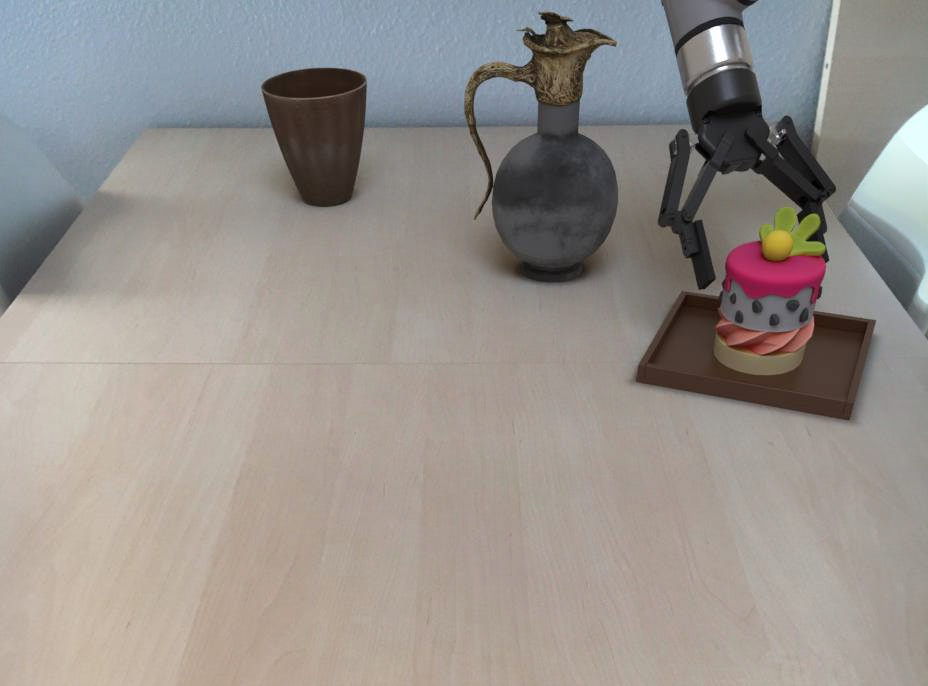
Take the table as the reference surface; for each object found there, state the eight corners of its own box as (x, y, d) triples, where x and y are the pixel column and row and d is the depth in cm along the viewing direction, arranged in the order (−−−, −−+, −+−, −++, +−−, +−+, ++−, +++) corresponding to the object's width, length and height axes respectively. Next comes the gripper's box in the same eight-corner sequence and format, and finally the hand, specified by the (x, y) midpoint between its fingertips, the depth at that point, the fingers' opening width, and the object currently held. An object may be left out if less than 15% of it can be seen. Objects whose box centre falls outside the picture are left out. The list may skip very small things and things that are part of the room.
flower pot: (301, 224, 148) (286, 104, 137) (261, 193, 157) (244, 78, 146) (392, 202, 153) (385, 85, 142) (348, 173, 163) (338, 61, 152)
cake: (803, 382, 110) (836, 244, 100) (704, 370, 113) (726, 234, 102) (808, 337, 118) (839, 204, 107) (715, 327, 120) (736, 196, 110)
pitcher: (610, 292, 129) (633, 21, 109) (460, 286, 132) (455, 20, 111) (613, 257, 137) (635, -3, 116) (472, 251, 139) (469, -3, 119)
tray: (871, 338, 119) (876, 319, 117) (849, 422, 106) (854, 402, 104) (679, 308, 126) (681, 290, 124) (635, 383, 113) (638, 364, 111)
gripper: (803, 92, 117) (845, 272, 117) (601, 117, 112) (645, 306, 112) (840, 51, 110) (885, 244, 109) (625, 77, 105) (672, 278, 104)
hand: (764, 275), depth 111 cm, fingers open, 13 cm apart
